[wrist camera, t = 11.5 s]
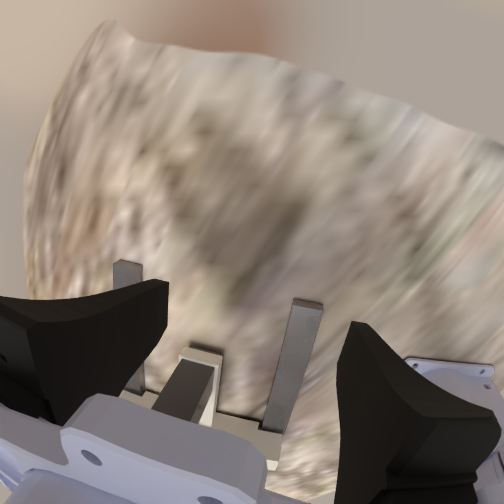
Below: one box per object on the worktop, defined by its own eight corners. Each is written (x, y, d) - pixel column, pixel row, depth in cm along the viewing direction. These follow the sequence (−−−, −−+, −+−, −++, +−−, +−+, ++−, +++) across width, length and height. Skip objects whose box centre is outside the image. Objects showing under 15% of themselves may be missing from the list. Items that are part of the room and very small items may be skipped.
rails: (322, 304, 21) (323, 310, 20) (275, 452, 27) (273, 460, 26) (119, 259, 23) (113, 263, 22) (130, 412, 29) (126, 418, 28)
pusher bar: (303, 368, 23) (296, 445, 16) (280, 437, 25) (268, 505, 18) (119, 321, 24) (66, 373, 17) (126, 394, 27) (88, 446, 20)
